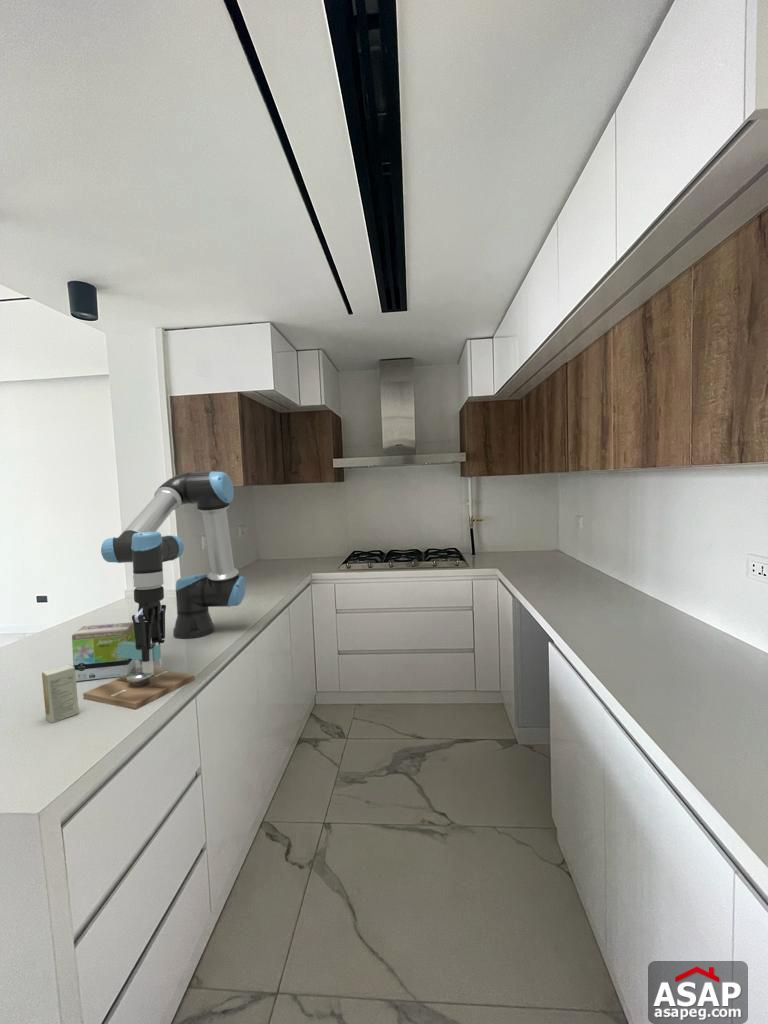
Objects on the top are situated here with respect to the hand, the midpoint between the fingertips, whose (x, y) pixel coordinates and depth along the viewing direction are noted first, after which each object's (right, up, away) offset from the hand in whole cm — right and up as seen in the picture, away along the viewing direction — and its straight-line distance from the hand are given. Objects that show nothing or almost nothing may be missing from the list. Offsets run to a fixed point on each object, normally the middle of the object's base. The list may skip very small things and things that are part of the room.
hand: (152, 669), depth 131 cm
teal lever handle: (-4, -3, +1) cm, 5 cm away
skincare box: (-16, -7, -14) cm, 22 cm away
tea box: (-21, -6, +14) cm, 26 cm away
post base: (-4, -6, +1) cm, 7 cm away
